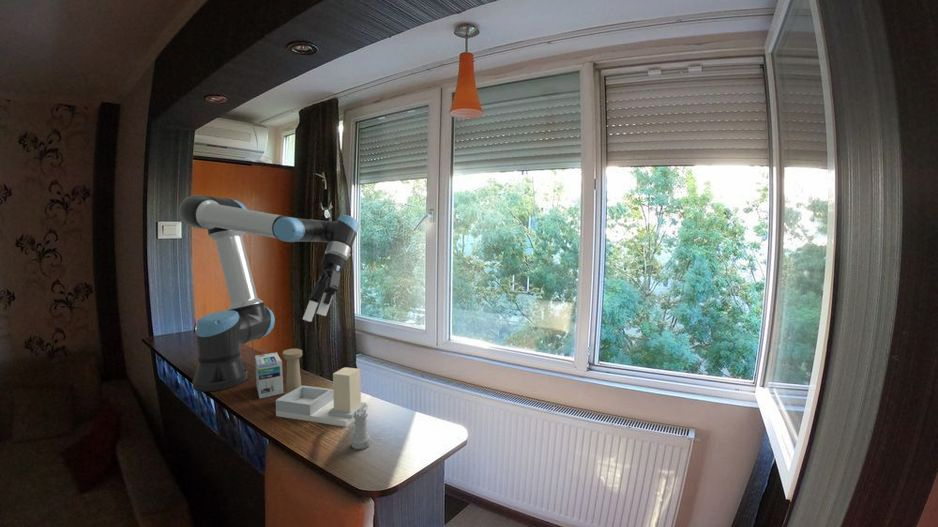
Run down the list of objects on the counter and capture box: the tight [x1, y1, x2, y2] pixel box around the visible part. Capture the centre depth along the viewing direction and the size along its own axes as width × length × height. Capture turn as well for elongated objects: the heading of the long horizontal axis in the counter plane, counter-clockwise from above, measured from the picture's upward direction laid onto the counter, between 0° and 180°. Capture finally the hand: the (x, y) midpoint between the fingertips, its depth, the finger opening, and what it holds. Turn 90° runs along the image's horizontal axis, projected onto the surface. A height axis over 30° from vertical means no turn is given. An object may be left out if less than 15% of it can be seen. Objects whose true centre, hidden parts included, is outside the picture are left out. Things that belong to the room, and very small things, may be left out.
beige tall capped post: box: [282, 348, 303, 394], centre depth 105 cm, size 5×6×15 cm
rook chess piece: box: [350, 409, 372, 450], centre depth 82 cm, size 4×4×8 cm
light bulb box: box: [254, 352, 284, 399], centre depth 112 cm, size 11×7×11 cm, turn 36°
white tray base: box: [275, 366, 368, 428], centre depth 98 cm, size 22×10×12 cm, turn 75°
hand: (313, 317), depth 109 cm, fingers open, 13 cm apart
